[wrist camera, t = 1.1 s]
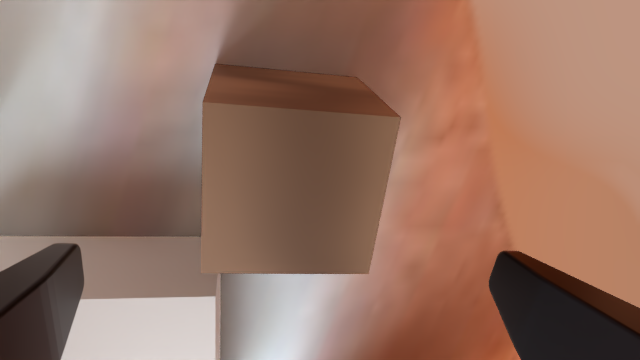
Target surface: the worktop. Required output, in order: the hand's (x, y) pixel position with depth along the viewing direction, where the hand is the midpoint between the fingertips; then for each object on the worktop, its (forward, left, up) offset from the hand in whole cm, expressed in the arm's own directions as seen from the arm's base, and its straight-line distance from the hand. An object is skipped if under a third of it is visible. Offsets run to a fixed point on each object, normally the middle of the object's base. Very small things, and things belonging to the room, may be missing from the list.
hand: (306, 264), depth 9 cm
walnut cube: (0, 0, -8) cm, 8 cm away
